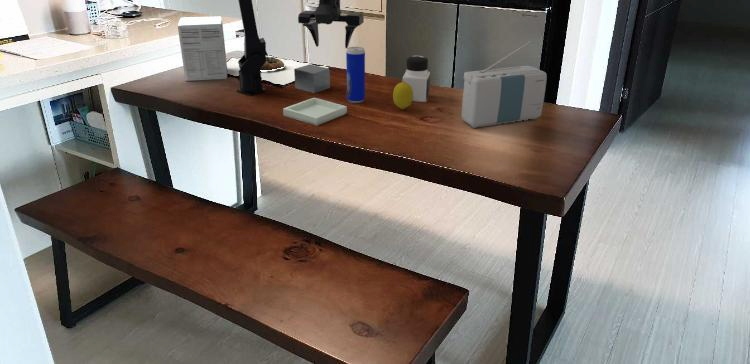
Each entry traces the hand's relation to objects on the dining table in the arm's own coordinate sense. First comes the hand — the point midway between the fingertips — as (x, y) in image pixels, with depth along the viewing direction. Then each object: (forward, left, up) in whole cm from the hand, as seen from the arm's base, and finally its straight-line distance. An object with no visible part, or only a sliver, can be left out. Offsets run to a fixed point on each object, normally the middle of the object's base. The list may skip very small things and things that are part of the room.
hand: (331, 47), depth 170 cm
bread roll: (-30, +1, -12) cm, 32 cm away
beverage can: (+15, -7, -12) cm, 21 cm away
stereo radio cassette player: (+55, +4, -12) cm, 57 cm away
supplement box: (-40, -17, -12) cm, 45 cm away
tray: (+14, -23, -12) cm, 30 cm away
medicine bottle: (+27, +6, -12) cm, 30 cm away
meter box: (-3, -6, -12) cm, 14 cm away
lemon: (+30, -5, -12) cm, 33 cm away
